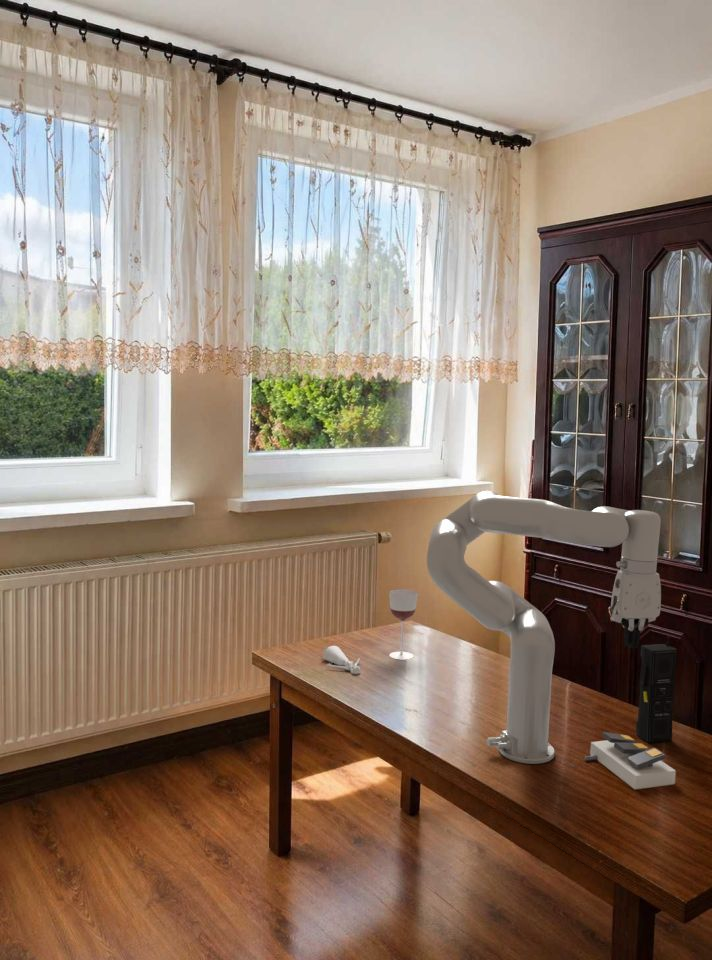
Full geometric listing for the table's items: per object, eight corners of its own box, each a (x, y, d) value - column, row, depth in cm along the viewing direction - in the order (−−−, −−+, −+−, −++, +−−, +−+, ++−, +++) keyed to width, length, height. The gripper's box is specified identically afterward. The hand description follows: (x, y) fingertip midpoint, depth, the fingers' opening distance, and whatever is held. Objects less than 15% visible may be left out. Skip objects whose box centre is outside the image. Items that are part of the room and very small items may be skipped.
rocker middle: (622, 757, 183) (624, 748, 183) (613, 750, 186) (614, 741, 186) (649, 757, 185) (651, 749, 185) (639, 750, 189) (641, 742, 188)
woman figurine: (344, 640, 259) (375, 661, 244) (343, 653, 260) (374, 675, 245) (311, 645, 253) (341, 667, 238) (310, 659, 253) (340, 682, 238)
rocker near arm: (609, 745, 188) (611, 737, 188) (600, 739, 191) (602, 731, 191) (635, 749, 190) (637, 741, 190) (625, 742, 193) (627, 734, 193)
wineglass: (385, 651, 262) (386, 589, 260) (411, 650, 264) (414, 589, 261) (390, 660, 254) (392, 596, 252) (418, 659, 256) (420, 595, 254)
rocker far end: (638, 772, 179) (637, 764, 178) (628, 764, 182) (627, 756, 182) (666, 762, 180) (664, 753, 180) (655, 754, 184) (654, 746, 183)
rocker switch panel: (622, 791, 176) (623, 777, 175) (578, 755, 192) (579, 743, 192) (674, 784, 180) (675, 770, 179) (627, 750, 196) (628, 737, 195)
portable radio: (645, 744, 199) (652, 643, 196) (630, 734, 205) (637, 635, 202) (673, 741, 201) (681, 641, 198) (658, 731, 207) (665, 633, 204)
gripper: (617, 570, 180) (610, 653, 182) (678, 569, 183) (670, 650, 186) (599, 562, 187) (592, 642, 189) (657, 562, 191) (650, 640, 193)
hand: (631, 646), depth 187 cm, fingers closed
